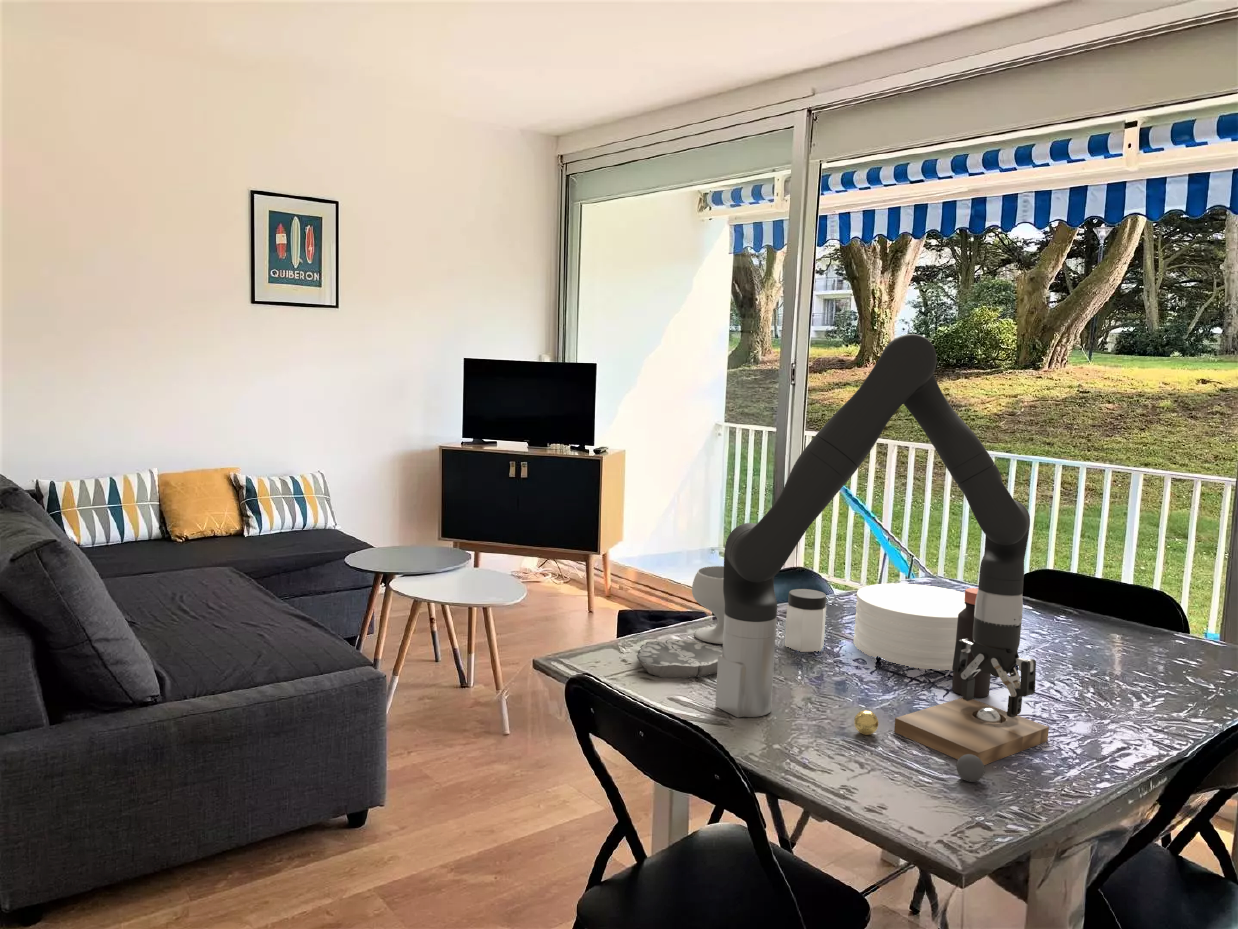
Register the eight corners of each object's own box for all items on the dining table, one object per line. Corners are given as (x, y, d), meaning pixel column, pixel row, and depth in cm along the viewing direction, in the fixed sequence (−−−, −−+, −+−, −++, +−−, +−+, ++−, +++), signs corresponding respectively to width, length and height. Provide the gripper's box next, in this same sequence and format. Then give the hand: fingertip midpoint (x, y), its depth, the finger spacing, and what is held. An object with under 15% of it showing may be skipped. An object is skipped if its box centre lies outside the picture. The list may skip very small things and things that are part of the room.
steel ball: (990, 737, 157) (993, 714, 157) (970, 728, 161) (972, 706, 160) (1004, 732, 160) (1006, 710, 159) (983, 724, 163) (985, 702, 162)
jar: (832, 648, 202) (835, 595, 201) (808, 655, 197) (811, 600, 196) (800, 638, 209) (803, 586, 208) (776, 644, 204) (779, 591, 203)
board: (977, 768, 145) (978, 752, 145) (894, 732, 158) (895, 718, 158) (1047, 741, 157) (1048, 727, 156) (964, 709, 170) (965, 696, 169)
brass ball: (867, 740, 154) (868, 717, 154) (848, 732, 157) (849, 709, 157) (882, 735, 156) (884, 713, 156) (864, 727, 160) (865, 705, 159)
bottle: (991, 690, 180) (1000, 590, 178) (985, 701, 174) (994, 597, 172) (955, 683, 183) (963, 585, 181) (948, 693, 178) (956, 592, 175)
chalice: (703, 649, 199) (706, 581, 197) (680, 629, 212) (683, 566, 211) (762, 645, 203) (766, 578, 201) (737, 626, 216) (740, 564, 215)
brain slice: (702, 649, 200) (703, 636, 199) (742, 675, 184) (742, 661, 184) (618, 658, 192) (619, 644, 192) (652, 686, 177) (653, 670, 176)
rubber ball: (973, 789, 138) (975, 763, 137) (949, 778, 141) (951, 753, 141) (988, 782, 140) (991, 757, 140) (965, 772, 143) (967, 747, 143)
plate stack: (853, 662, 195) (857, 609, 193) (853, 625, 222) (856, 578, 220) (995, 678, 188) (1000, 623, 187) (977, 638, 215) (981, 590, 214)
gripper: (948, 609, 161) (941, 698, 163) (1024, 630, 150) (1015, 726, 152) (974, 603, 166) (966, 691, 168) (1049, 624, 154) (1040, 717, 156)
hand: (989, 707), depth 160 cm, fingers open, 8 cm apart
